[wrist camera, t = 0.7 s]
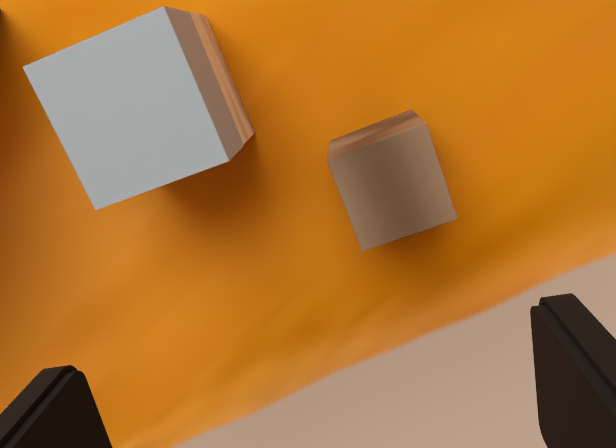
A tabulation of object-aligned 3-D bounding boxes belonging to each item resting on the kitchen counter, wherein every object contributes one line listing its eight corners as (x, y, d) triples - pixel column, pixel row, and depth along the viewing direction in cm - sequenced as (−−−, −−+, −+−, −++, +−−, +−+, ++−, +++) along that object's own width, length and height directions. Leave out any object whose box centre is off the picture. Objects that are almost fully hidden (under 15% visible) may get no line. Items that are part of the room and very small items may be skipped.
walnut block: (411, 109, 31) (426, 123, 25) (437, 188, 32) (457, 218, 26) (329, 140, 31) (327, 161, 26) (358, 216, 33) (362, 251, 27)
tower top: (189, 12, 26) (163, 6, 22) (244, 145, 28) (229, 161, 24) (66, 64, 27) (22, 66, 23) (127, 188, 29) (95, 210, 25)
